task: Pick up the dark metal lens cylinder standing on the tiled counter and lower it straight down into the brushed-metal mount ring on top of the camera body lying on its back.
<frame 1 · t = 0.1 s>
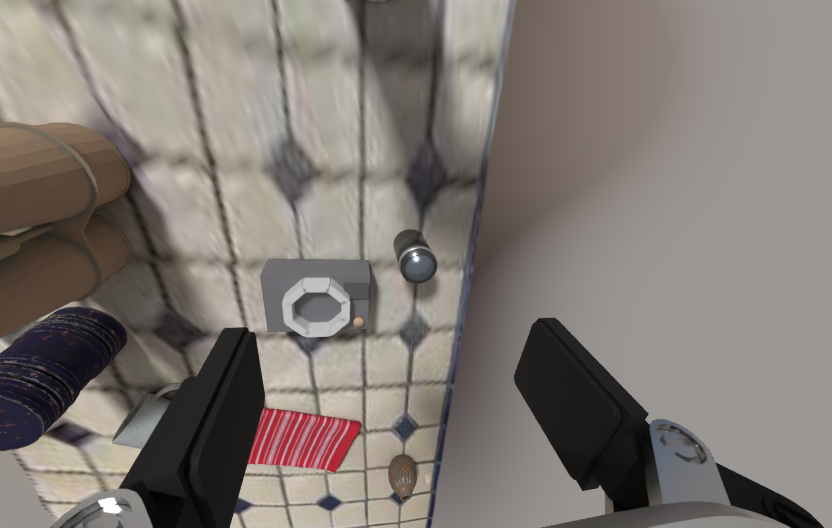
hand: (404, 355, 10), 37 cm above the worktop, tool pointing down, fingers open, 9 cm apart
binoculars: (87, 206, 38), on the worktop
ceramic mug: (170, 398, 55), on the worktop
dish towel: (298, 435, 66), on the worktop
vase: (400, 458, 77), on the worktop
camera body: (321, 286, 50), on the worktop
lens: (409, 244, 49), on the worktop
storage jar: (89, 331, 46), on the worktop
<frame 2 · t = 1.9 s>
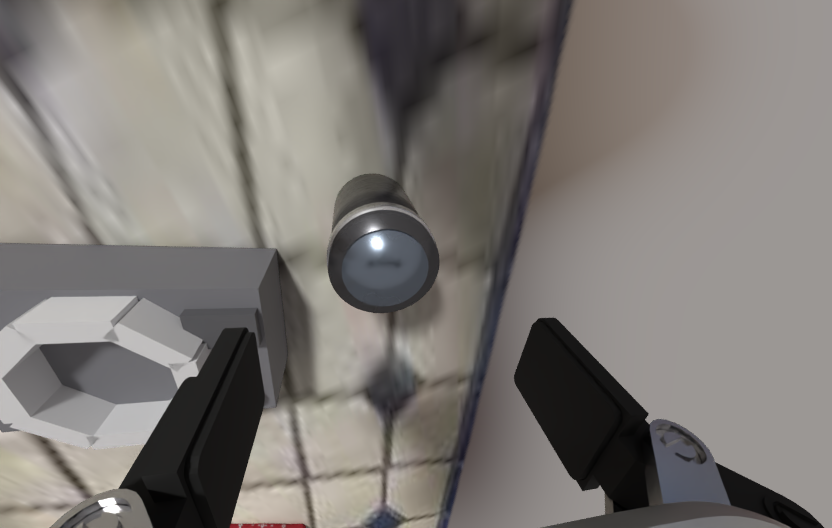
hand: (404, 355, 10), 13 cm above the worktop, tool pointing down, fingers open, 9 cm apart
camera body: (169, 309, 21), on the worktop
lens: (373, 211, 21), on the worktop
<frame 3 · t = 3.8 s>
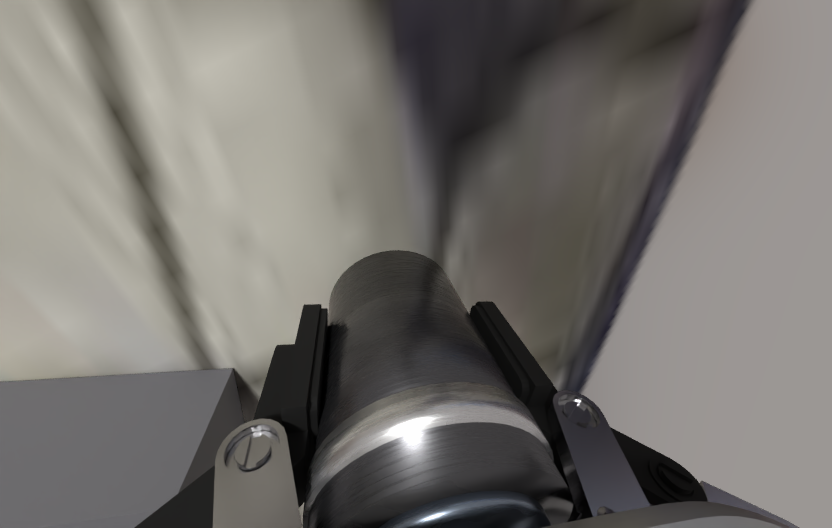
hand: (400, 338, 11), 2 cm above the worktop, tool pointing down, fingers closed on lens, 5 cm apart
camera body: (59, 463, 13), on the worktop
lens: (393, 306, 13), on the worktop, touching gripper
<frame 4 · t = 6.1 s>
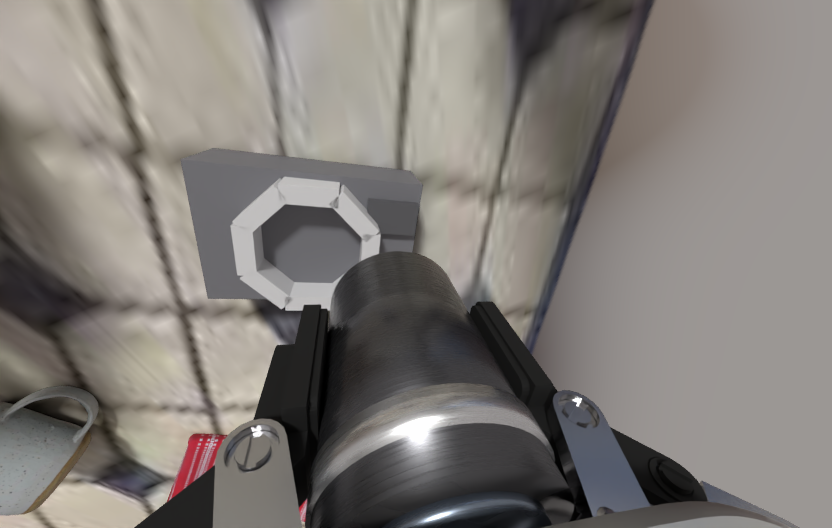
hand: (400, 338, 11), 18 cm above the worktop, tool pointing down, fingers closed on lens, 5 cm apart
ceramic mug: (52, 412, 31), on the worktop
dish towel: (275, 473, 43), on the worktop
camera body: (319, 219, 26), on the worktop
lens: (394, 307, 13), point 16 cm above the worktop, touching gripper
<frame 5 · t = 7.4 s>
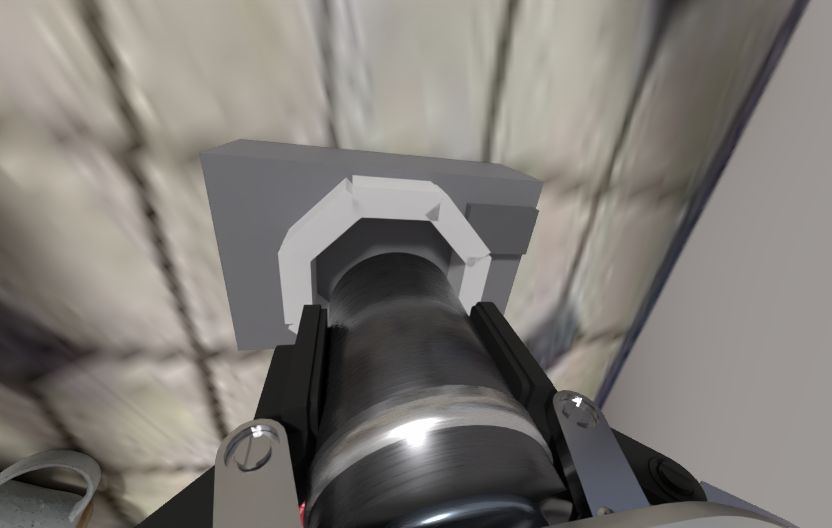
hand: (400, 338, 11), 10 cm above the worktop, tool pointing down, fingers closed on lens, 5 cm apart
ceramic mug: (44, 480, 24), on the worktop
camera body: (377, 232, 20), on the worktop
lens: (393, 307, 13), point 8 cm above the worktop, touching gripper
when the fingers open (8 cm above the worktop, at t = 8.2 s): lens drops 1 cm, resting on camera body.
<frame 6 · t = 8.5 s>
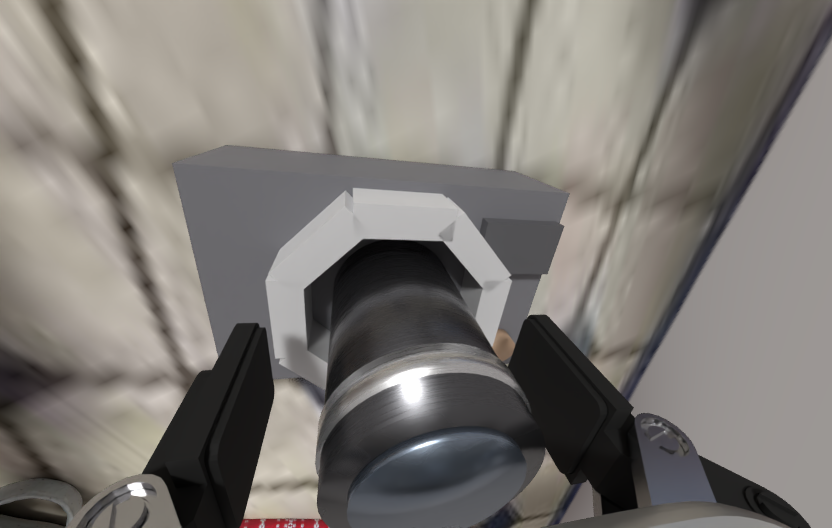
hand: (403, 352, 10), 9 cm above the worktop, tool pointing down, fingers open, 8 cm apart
ceramic mug: (21, 509, 23), on the worktop
camera body: (380, 246, 18), on the worktop
lens: (392, 291, 14), point 5 cm above the worktop, touching camera body
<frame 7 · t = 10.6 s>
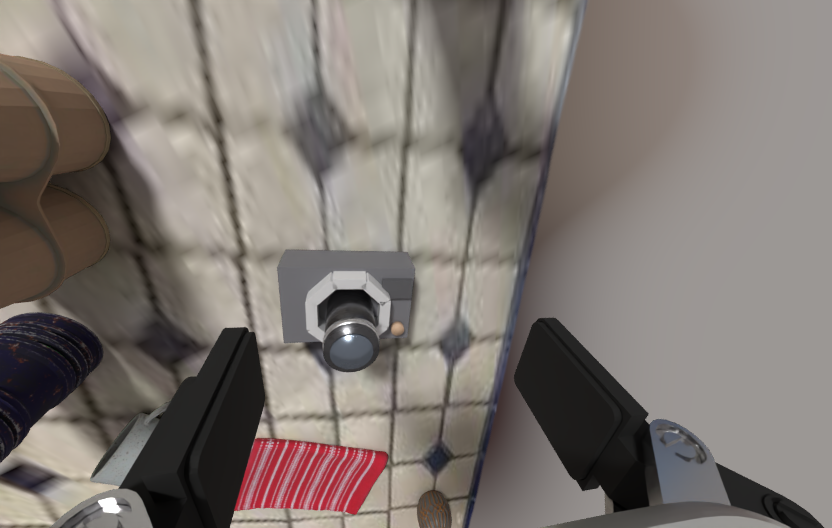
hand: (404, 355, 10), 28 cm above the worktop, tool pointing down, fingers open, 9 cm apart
binoculars: (52, 176, 29), on the worktop
ceramic mug: (167, 420, 43), on the worktop
dish towel: (312, 470, 55), on the worktop
vase: (429, 495, 65), on the worktop
camera body: (348, 285, 40), on the worktop
lens: (349, 306, 36), point 5 cm above the worktop, touching camera body
storage jar: (53, 345, 36), on the worktop
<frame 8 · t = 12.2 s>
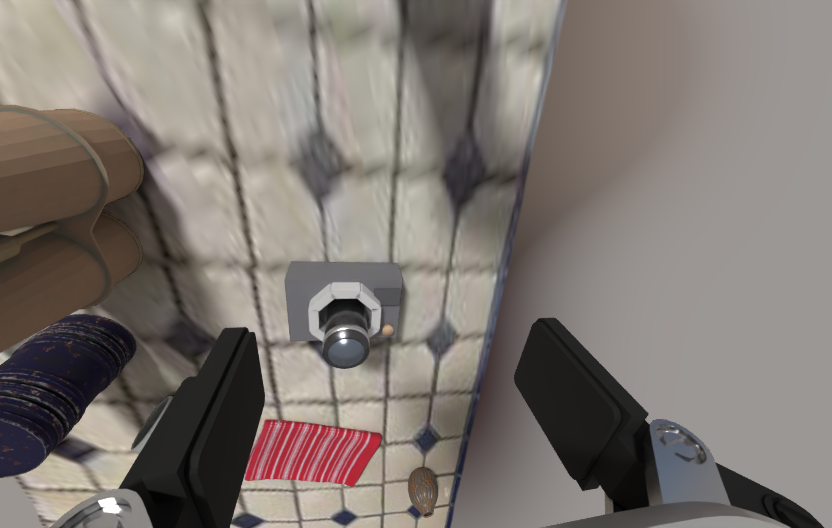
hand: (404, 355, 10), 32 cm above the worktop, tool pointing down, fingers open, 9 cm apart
binoculars: (95, 203, 34), on the worktop
ceramic mug: (191, 402, 50), on the worktop
dish towel: (315, 448, 63), on the worktop
vase: (419, 471, 73), on the worktop
camera body: (346, 291, 46), on the worktop
lens: (346, 311, 41), point 5 cm above the worktop, touching camera body
storage jar: (95, 341, 42), on the worktop
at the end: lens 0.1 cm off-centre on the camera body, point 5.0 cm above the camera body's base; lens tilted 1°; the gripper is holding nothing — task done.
